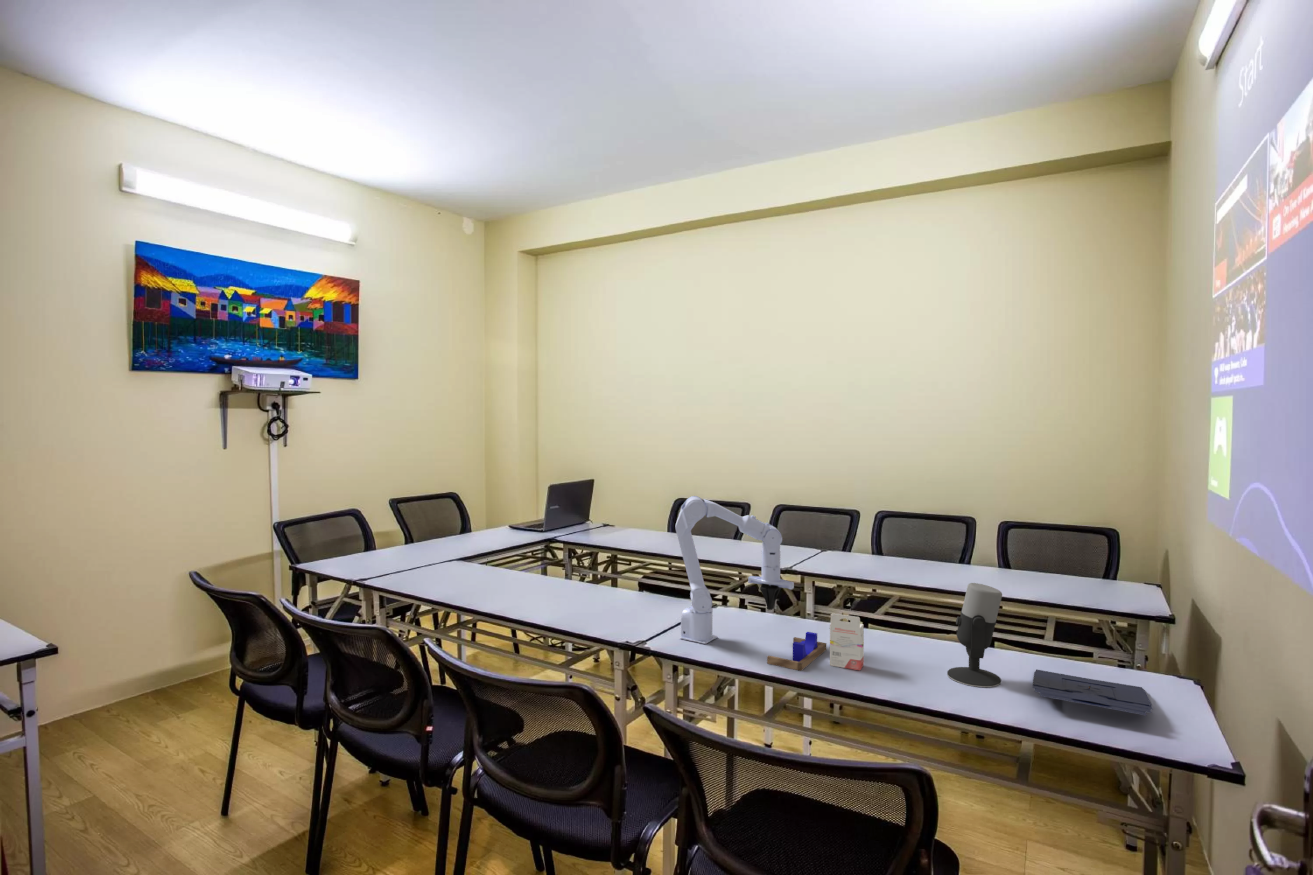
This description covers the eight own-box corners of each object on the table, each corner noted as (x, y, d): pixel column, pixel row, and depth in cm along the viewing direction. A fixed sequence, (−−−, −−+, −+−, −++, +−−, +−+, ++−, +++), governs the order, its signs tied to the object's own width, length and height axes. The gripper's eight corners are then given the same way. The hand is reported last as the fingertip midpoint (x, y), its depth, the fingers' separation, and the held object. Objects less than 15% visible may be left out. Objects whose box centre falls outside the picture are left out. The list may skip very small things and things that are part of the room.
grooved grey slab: (1030, 705, 162) (1030, 690, 162) (1034, 679, 188) (1034, 665, 188) (1157, 730, 149) (1157, 713, 150) (1143, 698, 175) (1143, 683, 175)
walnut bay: (767, 663, 192) (767, 656, 192) (794, 643, 209) (794, 636, 209) (801, 670, 187) (801, 663, 187) (826, 649, 203) (826, 643, 203)
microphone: (1006, 689, 174) (1008, 592, 173) (951, 684, 177) (953, 588, 177) (995, 671, 187) (996, 580, 186) (943, 666, 190) (945, 577, 189)
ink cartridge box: (864, 665, 191) (864, 612, 190) (860, 671, 187) (861, 617, 186) (833, 659, 195) (833, 608, 194) (829, 665, 191) (829, 613, 190)
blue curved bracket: (802, 650, 203) (802, 630, 203) (817, 653, 200) (817, 633, 200) (787, 663, 193) (787, 642, 192) (802, 666, 190) (803, 645, 190)
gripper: (797, 565, 212) (797, 609, 212) (755, 560, 220) (754, 602, 220) (789, 570, 206) (788, 614, 206) (745, 564, 214) (745, 607, 214)
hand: (770, 608), depth 213 cm, fingers closed
